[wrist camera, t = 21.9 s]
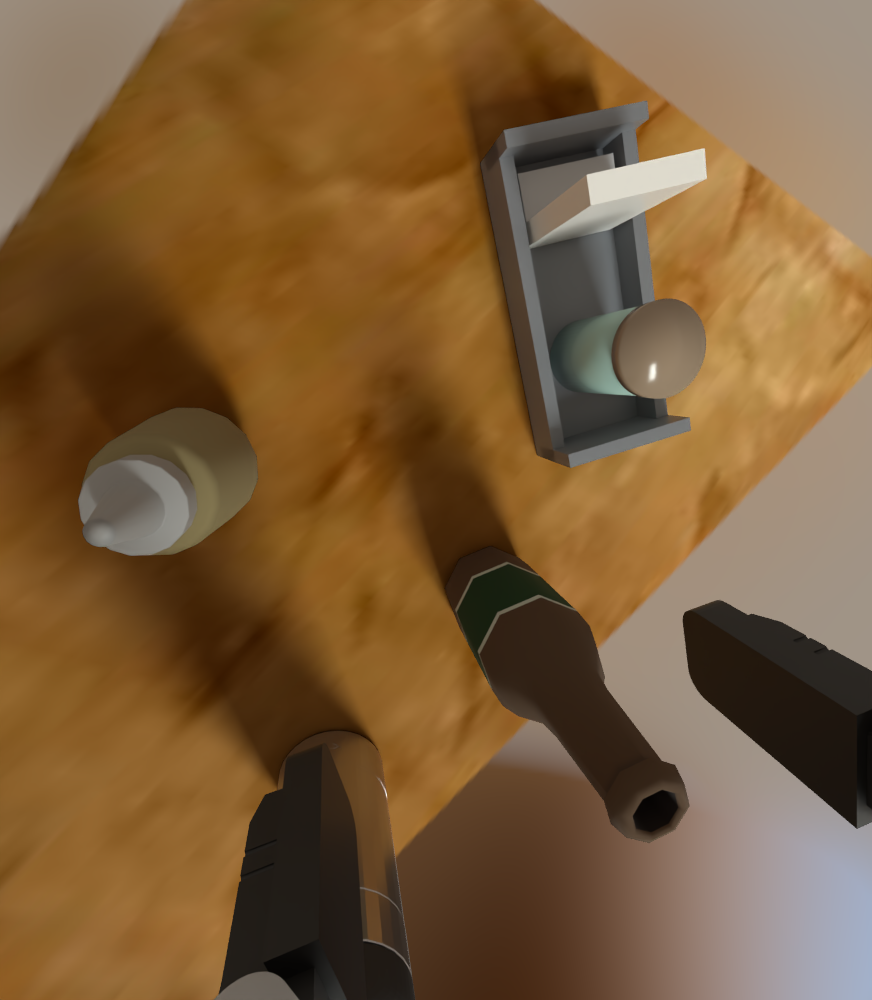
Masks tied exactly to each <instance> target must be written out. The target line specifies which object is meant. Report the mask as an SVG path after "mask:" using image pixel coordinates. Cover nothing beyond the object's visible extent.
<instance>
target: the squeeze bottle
mask: <svg viewBox="0 0 872 1000" xmlns="http://www.w3.org/2000/svg"><path fill="white" fill-rule="evenodd" d="M257 480H258V471H257V456H256V454H255V452H254V450H253V448H252V446H251V444H250V442H249V440H248V438H247V436H246V434H244V433H243V432H242V431H241V430H240V429H239V428H238V427H237V426H236V425H234V424H233V423H232V422H231V421H230V420H229V419H228V418H226V417H224V416H221V415H219V414H216V413H214V412H211V411H209V410H206V409H203V408H174V409H171V410H168V411H166V412H163V413H161V414H158V415H155V416H153V417H151V418H149V419H147V420H146V421H144V422H142V423H141V424H139V425H137V426H136V427H134V428H132V429H131V430H129V431H127V432H125V433H124V434H122V435H120V436H119V437H117V438H115V439H114V440H112V441H110V442H108V443H107V444H106V445H105V446H104V447H103V448H102V449H101V450H100V451H99V452H98V453H97V454H96V455H95V456H94V457H93V458H92V459H91V460H90V461H89V464H88V467H87V470H86V473H85V476H84V480H83V483H82V489H81V492H80V495H79V498H78V504H79V510H80V517H81V520H82V522H83V524H84V528H83V536H84V538H85V539H86V541H87V542H88V543H90V544H91V545H94V546H97V547H107V548H108V549H109V550H113V551H116V552H120V553H123V554H126V555H130V556H136V555H169V554H175V553H178V552H180V551H183V550H185V549H187V548H190V547H192V546H195V545H197V544H198V543H200V542H201V541H202V540H203V539H205V538H206V537H207V536H209V535H210V534H211V533H213V532H214V531H215V530H216V529H218V528H219V527H220V526H222V525H223V524H224V523H226V522H227V521H228V520H229V519H231V518H232V517H233V516H234V515H235V514H236V513H237V512H238V511H239V510H240V509H241V508H242V507H243V506H244V505H245V504H246V503H247V502H248V501H249V500H250V499H251V496H252V493H253V491H254V488H255V486H256V483H257Z"/></svg>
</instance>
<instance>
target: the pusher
mask: <svg viewBox="0 0 872 1000" xmlns="http://www.w3.org/2000/svg"><path fill="white" fill-rule="evenodd" d="M517 179H518V185H519V190H520V196H521V201H522V207H523V213H524V218H525V224H526V230H527V235H528V241H529V246H530V249H531V248H535V247H540V246H544V245H548V244H552V243H556V242H560V241H564V240H568V239H573V238H577V237H581V236H585V235H589V234H593V233H597V232H602V231H606V230H610V229H612V228H614V227H616V226H618V225H619V224H621V223H623V222H625V221H627V220H629V219H631V218H633V217H635V216H637V215H638V214H640V213H642V212H644V211H646V210H648V209H650V208H652V207H654V206H656V205H657V204H659V203H661V202H663V201H665V200H667V199H669V198H671V197H673V196H675V195H676V194H678V193H680V192H682V191H684V190H686V189H688V188H690V187H692V186H694V185H695V184H697V183H699V182H701V181H703V180H705V179H707V174H706V162H705V149H699V150H695V151H690V152H686V153H681V154H677V155H672V156H668V157H663V158H659V159H654V160H650V161H646V162H641V163H637V164H632V165H628V166H623V167H619V168H615V164H614V156H613V153H611V154H607V155H602V156H597V157H593V158H588V159H584V160H579V161H575V162H570V163H565V164H561V165H556V166H552V167H547V168H543V169H538V170H533V171H529V172H524V173H520V174H517Z"/></svg>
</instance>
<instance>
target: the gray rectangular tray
mask: <svg viewBox="0 0 872 1000" xmlns="http://www.w3.org/2000/svg"><path fill="white" fill-rule="evenodd" d="M647 119H649V114H648V105H647V101H643V102H638V103H633V104H628V105H623V106H618V107H613V108H609V109H604V110H599V111H594V112H589V113H584V114H579V115H574V116H570V117H565V118H560V119H555V120H550V121H545V122H540V123H535V124H530V125H526V126H521V127H516V128H511V129H506V130H503V132H502V133H501V135H500V136H499V137H498V139H497V140H496V142H495V143H494V145H493V146H492V147H491V149H490V150H489V152H488V153H487V154H486V156H485V157H484V159H483V160H482V161H481V163H480V165H481V170H482V175H483V180H484V185H485V190H486V196H487V201H488V206H489V211H490V216H491V221H492V226H493V231H494V237H495V242H496V247H497V252H498V257H499V262H500V267H501V272H502V277H503V283H504V288H505V293H506V298H507V303H508V308H509V313H510V318H511V324H512V329H513V334H514V339H515V344H516V349H517V354H518V359H519V364H520V370H521V375H522V380H523V385H524V390H525V395H526V400H527V405H528V411H529V416H530V421H531V426H532V431H533V436H534V441H535V446H536V451H537V456H540V457H543V458H545V459H548V460H551V461H553V462H556V463H559V464H562V465H564V466H567V467H570V468H572V467H575V466H578V465H581V464H584V463H588V462H591V461H594V460H597V459H601V458H604V457H607V456H610V455H613V454H617V453H620V452H623V451H626V450H630V449H633V448H636V447H639V446H642V445H646V444H649V443H652V442H655V441H659V440H662V439H665V438H668V437H671V436H675V435H678V434H681V433H684V432H687V431H691V427H690V418H689V417H680V416H671V415H668V413H667V405H666V398H662V399H654V398H642V397H638V396H631V395H615V394H598V393H581V392H573V391H570V390H568V389H566V388H564V387H563V386H562V385H561V384H560V383H559V382H558V381H557V380H556V378H555V376H554V374H553V372H552V369H551V364H550V353H551V348H552V345H553V342H554V340H555V338H556V336H557V335H558V333H559V332H560V331H561V330H562V329H563V328H564V327H565V326H567V325H568V324H570V323H572V322H574V321H577V320H581V319H585V318H590V317H594V316H599V315H603V314H607V313H612V312H616V311H620V310H625V309H629V308H633V307H638V306H640V305H642V304H645V303H648V302H652V301H655V299H654V290H653V281H652V272H651V263H650V255H649V246H648V237H647V228H646V219H645V211H644V212H642V213H640V214H638V215H637V216H635V217H633V218H631V219H629V220H627V221H625V222H623V223H621V224H619V225H618V226H616V227H614V228H612V229H610V230H606V231H602V232H597V233H593V234H589V235H585V236H581V237H577V238H573V239H568V240H564V241H560V242H556V243H552V244H548V245H544V246H540V247H535V248H531V249H530V246H529V241H528V235H527V230H526V224H525V218H524V213H523V207H522V201H521V196H520V190H519V185H518V179H517V174H520V173H524V172H529V171H533V170H538V169H543V168H547V167H552V166H556V165H561V164H565V163H570V162H575V161H579V160H584V159H588V158H593V157H597V156H602V155H607V154H611V153H613V156H614V164H615V168H619V167H623V166H628V165H632V164H637V163H639V157H638V149H637V140H636V131H635V129H636V128H638V127H639V126H640V125H641V124H643V123H644V122H645V121H646V120H647Z"/></svg>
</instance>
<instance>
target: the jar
mask: <svg viewBox="0 0 872 1000" xmlns="http://www.w3.org/2000/svg"><path fill="white" fill-rule="evenodd" d="M705 351H706V336H705V330H704V326H703V324H702V321H701V319H700V318H699V316H698V314H697V313H696V312H695V311H694V310H693V309H692V308H691V307H690V306H689V305H687V304H686V303H684V302H682V301H679V300H676V299H661V300H656V301H652V302H648V303H645V304H642V305H640V306H638V307H633V308H629V309H625V310H620V311H616V312H612V313H607V314H603V315H599V316H594V317H590V318H585V319H581V320H577V321H574V322H572V323H570V324H568V325H567V326H565V327H564V328H563V329H562V330H561V331H560V332H559V333H558V335H557V336H556V338H555V340H554V342H553V345H552V348H551V353H550V364H551V369H552V372H553V374H554V376H555V378H556V380H557V381H558V382H559V383H560V384H561V385H562V386H563V387H564V388H566V389H568V390H570V391H573V392H581V393H598V394H615V395H631V396H638V397H642V398H654V399H662V398H668V397H671V396H674V395H676V394H678V393H680V392H681V391H682V390H684V389H685V388H686V387H687V386H688V385H689V384H690V383H691V382H692V381H693V380H694V378H695V377H696V376H697V374H698V372H699V370H700V368H701V366H702V363H703V360H704V356H705Z"/></svg>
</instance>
